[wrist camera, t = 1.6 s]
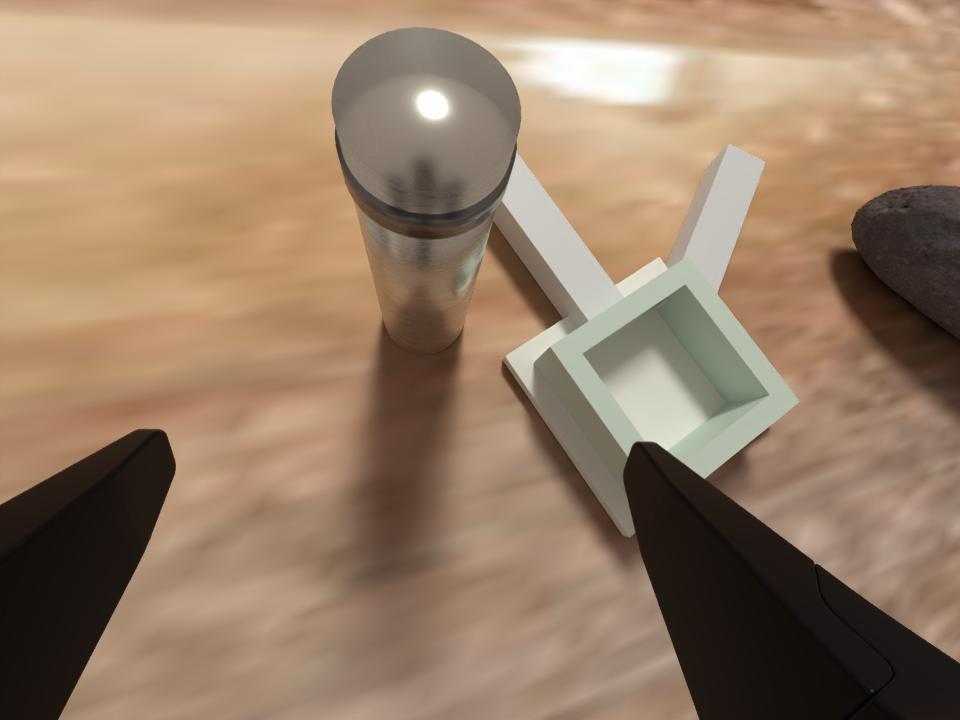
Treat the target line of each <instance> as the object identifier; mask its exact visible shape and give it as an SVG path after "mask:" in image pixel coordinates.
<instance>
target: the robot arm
mask: <svg viewBox="0 0 960 720" xmlns="http://www.w3.org/2000/svg"><path fill="white" fill-rule="evenodd" d="M175 470H176V462H175V459H174V455H173V452H172V449H171V446H170V443H169V440H168V437H167V434H166V433H165V432H164V431H163V430H160V429H137V430H135V431H133V432H131V433H129V434H127V435H126V436H124V437H122V438H120V439H118V440H117V441H115V442H113V443H111V444H109V445H108V446H106V447H104V448H102V449H100V450H99V451H97V452H95V453H93V454H91V455H90V456H88V457H86V458H84V459H82V460H80V461H79V462H77V463H75V464H73V465H71V466H70V467H68V468H66V469H64V470H62V471H61V472H59V473H57V474H55V475H53V476H52V477H50V478H48V479H46V480H44V481H43V482H41V483H39V484H37V485H35V486H34V487H32V488H30V489H28V490H26V491H24V492H23V493H21V494H19V495H17V496H15V497H14V498H12V499H10V500H8V501H6V502H5V503H3V504H1V505H0V720H58V719H59V717H60V715H61V713H62V711H63V709H64V707H65V705H66V703H67V701H68V699H69V698H70V696H71V694H72V692H73V690H74V688H75V686H76V684H77V682H78V680H79V678H80V676H81V674H82V672H83V670H84V669H85V667H86V665H87V663H88V661H89V659H90V657H91V655H92V653H93V651H94V649H95V647H96V645H97V643H98V641H99V640H100V638H101V636H102V634H103V632H104V630H105V628H106V626H107V624H108V622H109V620H110V618H111V616H112V614H113V612H114V611H115V609H116V607H117V605H118V603H119V601H120V599H121V597H122V595H123V593H124V591H125V589H126V587H127V585H128V583H129V581H130V580H131V578H132V576H133V574H134V572H135V570H136V568H137V566H138V564H139V562H140V560H141V558H142V556H143V554H144V552H145V550H146V547H147V545H148V542H149V540H150V538H151V535H152V532H153V530H154V527H155V525H156V522H157V519H158V517H159V514H160V511H161V509H162V506H163V504H164V501H165V498H166V496H167V493H168V491H169V488H170V485H171V483H172V480H173V478H174V475H175ZM623 482H624V487H625V491H626V495H627V499H628V504H629V508H630V512H631V516H632V521H633V525H634V529H635V533H636V538H637V542H638V545H639V549H640V552H641V555H642V558H643V562H644V564H645V567H646V570H647V573H648V576H649V579H650V581H651V584H652V587H653V590H654V593H655V595H656V598H657V601H658V604H659V607H660V610H661V612H662V615H663V618H664V621H665V624H666V627H667V629H668V632H669V635H670V638H671V641H672V644H673V646H674V649H675V652H676V655H677V658H678V660H679V663H680V666H681V669H682V672H683V675H684V677H685V680H686V683H687V686H688V689H689V692H690V694H691V697H692V700H693V703H694V706H695V709H696V711H697V714H698V717H699V720H960V663H959V662H957V661H956V660H954V659H953V658H951V657H950V656H948V655H947V654H945V653H944V652H942V651H941V650H939V649H938V648H936V647H935V646H933V645H932V644H930V643H929V642H927V641H926V640H924V639H923V638H921V637H920V636H918V635H917V634H915V633H914V632H912V631H911V630H909V629H908V628H906V627H905V626H903V625H902V624H901V623H899V622H898V621H896V620H895V619H893V618H892V617H890V616H889V615H887V614H886V613H884V612H883V611H882V610H880V609H879V608H877V607H876V606H874V605H873V604H871V603H870V602H869V601H867V600H866V599H864V598H863V597H862V596H860V595H859V594H858V593H856V592H855V591H854V590H852V589H851V588H849V587H848V586H847V585H845V584H844V583H843V582H841V581H840V580H838V579H837V578H836V577H834V576H833V575H832V574H830V573H829V572H828V571H826V570H825V569H824V568H823V567H821V566H820V565H818V564H814V561H813V560H812V559H810V558H809V557H808V556H806V555H805V554H804V553H802V552H801V551H800V550H798V549H797V548H796V547H794V546H793V545H792V544H790V543H789V542H788V541H786V540H785V539H784V538H782V537H781V536H780V535H778V534H777V533H776V532H774V531H773V530H772V529H770V528H769V527H768V526H766V525H765V524H764V523H762V522H761V521H760V520H758V519H757V518H756V517H754V516H753V515H752V514H750V513H749V512H748V511H746V510H745V509H744V508H742V507H741V506H740V505H738V504H737V503H736V502H734V501H733V500H732V499H730V498H729V497H728V496H727V495H725V494H724V493H723V492H721V491H720V490H719V489H717V488H716V487H715V486H713V485H712V484H711V483H709V482H708V481H707V480H705V479H704V478H703V477H701V476H700V475H699V474H697V473H696V472H695V471H693V470H692V469H691V468H689V467H688V466H687V465H685V464H684V463H683V462H681V461H680V460H679V459H677V458H676V457H675V456H673V455H672V454H671V453H669V452H668V451H667V450H665V449H664V448H663V447H661V446H660V445H659V444H657V443H655V442H652V441H637V442H635V443H634V444H633V445H632V447H631V450H630V453H629V456H628V458H627V461H626V464H625V467H624V470H623Z"/></svg>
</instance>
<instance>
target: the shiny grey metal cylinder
mask: <svg viewBox="0 0 960 720" xmlns="http://www.w3.org/2000/svg"><path fill="white" fill-rule="evenodd" d="M332 113H333V117H334V121H335V125H336V127H335V141H336V148H337V152H338V157H339V160H340V164H341V168H342V172H343V176H344V180H345V183H346V185H347V188H348V190H349V193H350V194H351V196H352V198H353V199H354V203H355V207H356V211H357V215H358V219H359V223H360V227H361V231H362V235H363V239H364V243H365V247H366V252H367V256H368V260H369V264H370V268H371V272H372V276H373V280H374V284H375V288H376V292H377V296H378V300H379V304H380V308H381V313H382V317H383V321H384V325H385V328H386V330H387V332H388V334H389V336H390V337H391V338H392V340H393V341H394V342H395V343H396V344H397V345H399V346H400V347H402V348H403V349H405V350H407V351H410V352H413V353H418V354H431V353H436V352H439V351H441V350H443V349H445V348H447V347H448V346H450V345H451V344H452V343H453V342H454V341H455V340H456V339H457V337H458V336H459V334H460V332H461V330H462V328H463V324H464V321H465V317H466V314H467V310H468V307H469V303H470V300H471V296H472V293H473V289H474V286H475V282H476V279H477V275H478V272H479V268H480V265H481V261H482V258H483V254H484V251H485V247H486V244H487V240H488V237H489V234H490V230H491V227H492V223H493V220H494V216H495V213H496V209H497V207H498V206H499V204H500V203H501V201H502V199H503V197H504V194H505V192H506V189H507V185H508V182H509V179H510V175H511V172H512V169H513V165H514V162H515V158H516V150H517V143H516V139H517V136H518V132H519V129H520V122H521V106H520V100H519V96H518V93H517V90H516V87H515V85H514V83H513V81H512V79H511V77H510V75H509V74H508V72H507V71H506V69H505V68H504V67H503V66H502V64H501V63H500V62H499V61H498V60H497V59H496V58H495V57H494V56H493V55H492V54H491V53H490V52H488V51H487V50H486V49H484V48H483V47H481V46H480V45H478V44H477V43H475V42H473V41H471V40H470V39H467V38H465V37H463V36H461V35H458V34H455V33H452V32H449V31H444V30H440V29H434V28H405V29H398V30H394V31H390V32H387V33H384V34H381V35H378V36H376V37H374V38H372V39H370V40H368V41H367V42H365V43H364V44H363V45H361V46H360V47H358V48H357V49H356V50H355V51H354V52H353V53H352V54H351V55H350V56H349V57H348V58H347V60H346V61H345V62H344V64H343V65H342V67H341V68H340V70H339V72H338V74H337V77H336V79H335V82H334V86H333V91H332Z"/></svg>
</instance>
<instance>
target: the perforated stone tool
mask: <svg viewBox="0 0 960 720" xmlns="http://www.w3.org/2000/svg"><path fill="white" fill-rule="evenodd" d="M855 214H856V215H855V217H854V219H853V222H852V224H851V226H852V228H851V229H852V238H853V241H854V243H855V246H856V248H857V250H858V252H859V253H860V255H861V257H862V258H863V259H864V261H865V262H866V264H867V265H868V267H869V268H870V269H871V270H872V271H873V272H874V273H875V274H876V275H877V277H879V279H880V280H882V281H883V283H885V284H886V285H887V286H888V287H890V288H891V289H892V290H893V291H895V292H896V293H897V294H899V295H901V296H902V297H903V298H904V299H905V300H907V301H909V302H910V303H911V304H912V305H913V306H914V307H915V308H916V309H918V310H919V311H920V312H922V313H923V314H925V315H926V316H928V317H929V318H931V319H932V320H933V321H934V322H936V323H937V324H938V325H939V326H941V327H942V328H944V329H945V330H947V331H948V332H949V333H950V334H952V335H953V336H955V337H956V338H958V339H959V340H960V187H956V186H942V185H939V186H937V185H936V186H932V185H930V186H923V185H920V186H913V187H907V188H900V189H895V190H891V191H888V192H886V193H883V194H881V195H879V196H878V197H875V198H874V199H872V200H870V201H869V202H867V203H866V204H865V205H864V206H862V208H860V209H858V210H857V212H856V213H855Z"/></svg>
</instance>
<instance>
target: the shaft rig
mask: <svg viewBox="0 0 960 720" xmlns="http://www.w3.org/2000/svg"><path fill="white" fill-rule="evenodd" d="M764 165H765V162H764V161H762V160H760V159H758V158H756V157H754V156H752V155H750V154H748V153H746V152H744V151H742V150H740V149H738V148H737V147H735V146H733V145H731V144H728V145H727V146H726V147H725V148H724V149H723V151H722V152H721V153H720V154H719V155H718V156H717V157H716V158H715V159H714V160H713V161H712V162H711V163H710V164H709V166H708V167H707V168H706V169H705V171H704V173H703V176H702V178H701V181H700V183H699V186H698V188H697V190H696V193H695V195H694V198H693V200H692V203H691V205H690V207H689V210H688V212H687V215H686V217H685V220H684V222H683V225H682V227H681V229H680V232H679V234H678V237H677V239H676V242H675V244H674V247H673V249H672V251H671V254H670V256H669V259H668V261H667V264H666V265H665V264H664V263H663V261H662V260H661V259H660V257H658V258H657V259H655V260H654V261H652V262H651V263H649V264H648V265H646V266H644V267H643V268H641V269H640V270H638V271H637V272H635V273H634V274H632V275H630V276H629V277H627V278H626V279H624V280H623V281H621V282H620V283H618V284H616V285H615V284H614V283H613V282H612V280H611V279H610V278H609V276H608V275H607V274H606V272H605V271H604V270H603V268H602V267H601V266H600V264H599V263H598V261H597V260H596V259H595V257H594V256H593V255H592V253H591V252H590V251H589V249H588V248H587V247H586V245H585V244H584V243H583V241H582V240H581V238H580V237H579V236H578V234H577V233H576V232H575V230H574V229H573V228H572V226H571V225H570V224H569V222H568V221H567V220H566V218H565V217H564V215H563V214H562V213H561V211H560V210H559V209H558V207H557V206H556V205H555V203H554V202H553V201H552V199H551V198H550V196H549V195H548V194H547V192H546V191H545V190H544V188H543V187H542V186H541V184H540V183H539V182H538V180H537V179H536V178H535V176H534V175H533V173H532V172H531V171H530V169H529V168H528V167H527V165H526V164H525V163H524V161H523V160H522V159H521V157H520V156H519V155H518V153H517V152H516V158H515V162H514V165H513V169H512V172H511V175H510V179H509V182H508V185H507V189H506V192H505V194H504V197H503V199H502V201H501V203H500V204H499V206H498V207H497V209H496V213H495V216H494V220H493V221H494V223H495V224H496V226H497V227H498V228H499V230H500V231H501V233H502V234H503V235H504V237H505V238H506V240H507V241H508V242H509V244H510V245H511V247H512V248H513V249H514V251H515V252H516V254H517V255H518V256H519V258H520V259H521V261H522V262H523V263H524V265H525V266H526V268H527V269H528V270H529V272H530V273H531V275H532V276H533V277H534V279H535V280H536V282H537V283H538V284H539V286H540V287H541V289H542V290H543V291H544V293H545V294H546V296H547V297H548V298H549V300H550V301H551V303H552V304H553V305H554V307H555V308H556V310H557V311H558V312H559V314H560V315H561V317H562V318H563V319H562V320H561V321H559V322H557V323H556V324H554V325H553V326H551V327H550V328H548V329H547V330H545V331H543V332H542V333H540V334H539V335H537V336H536V337H534V338H533V339H531V340H529V341H528V342H526V343H525V344H523V345H522V346H520V347H519V348H517V349H515V350H514V351H512V352H511V353H509V354H508V355H506V356H505V357H504V358H503V362H504V363H505V365H506V366H507V367H508V369H509V370H510V372H511V373H512V375H513V376H514V378H515V379H516V381H517V382H518V384H519V385H520V386H521V388H522V389H523V391H524V392H525V394H526V395H527V397H528V398H529V400H530V401H531V403H532V404H533V405H534V407H535V408H536V410H537V411H538V413H539V414H540V416H541V417H542V419H543V420H544V421H545V423H546V424H547V426H548V427H549V429H550V430H551V432H552V433H553V435H554V436H555V438H556V439H557V440H558V442H559V443H560V445H561V446H562V448H563V449H564V451H565V452H566V454H567V455H568V457H569V458H570V459H571V461H572V462H573V464H574V465H575V467H576V468H577V470H578V471H579V473H580V474H581V475H582V477H583V478H584V480H585V481H586V483H587V484H588V486H589V487H590V489H591V490H592V492H593V493H594V494H595V496H596V497H597V499H598V500H599V502H600V503H601V505H602V506H603V508H604V509H605V510H606V512H607V513H608V515H609V516H610V518H611V519H612V521H613V522H614V524H615V525H616V527H617V528H618V529H619V531H620V532H621V534H622V535H623V536H626V537H631V536H632V535H633V534H635V529H634V525H633V521H632V516H631V512H630V508H629V504H628V499H627V495H626V491H625V487H624V482H623V470H624V467H625V464H626V461H627V458H628V456H629V453H630V450H631V447H632V445H633V444H634V443H635V442H637V441H652V442H655V443H657V444H659V445H660V446H661V447H663V448H664V449H665V450H667V451H668V452H669V453H671V454H672V455H673V456H675V457H676V458H677V459H679V460H680V461H681V462H683V463H684V464H685V465H687V466H688V467H689V468H691V469H692V470H693V471H695V472H696V473H697V474H699V475H700V476H701V477H703V478H704V479H705V478H706V477H707V476H709V475H710V474H711V473H712V472H714V471H715V470H716V469H717V468H718V467H720V466H721V465H722V464H723V463H725V462H726V461H727V460H728V459H730V458H731V457H732V456H733V455H735V454H736V453H737V452H738V451H739V450H741V449H742V448H743V447H744V446H746V445H747V444H748V443H749V442H751V441H752V440H753V439H754V438H756V437H757V436H758V435H759V434H761V433H762V432H763V431H764V430H765V429H767V428H768V427H769V426H770V425H772V424H773V423H774V422H775V421H777V420H778V419H779V418H780V417H782V416H783V415H784V414H785V413H786V412H788V411H789V410H790V409H791V408H793V407H794V406H795V405H796V404H798V403H799V402H800V401H799V400H798V398H797V397H796V396H795V394H794V393H793V392H792V391H791V389H790V388H789V387H788V385H787V384H786V383H785V381H784V380H783V379H782V378H781V376H780V375H779V374H778V372H777V371H776V370H775V368H774V367H773V366H772V365H771V363H770V362H769V361H768V359H767V358H766V357H765V355H764V354H763V353H762V352H761V350H760V349H759V348H758V346H757V345H756V344H755V343H754V341H753V340H752V339H751V337H750V336H749V335H748V333H747V332H746V331H745V330H744V328H743V327H742V326H741V324H740V323H739V322H738V320H737V319H736V318H735V317H734V315H733V314H732V313H731V311H730V310H729V309H728V307H727V306H726V305H725V304H724V302H723V301H722V300H721V298H720V297H719V296H718V294H717V292H718V290H719V287H720V284H721V281H722V279H723V276H724V273H725V271H726V268H727V265H728V263H729V260H730V257H731V254H732V252H733V249H734V246H735V244H736V241H737V238H738V235H739V233H740V230H741V227H742V225H743V222H744V219H745V216H746V214H747V211H748V208H749V206H750V203H751V200H752V197H753V195H754V192H755V189H756V187H757V184H758V181H759V178H760V176H761V173H762V170H763V168H764Z"/></svg>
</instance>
